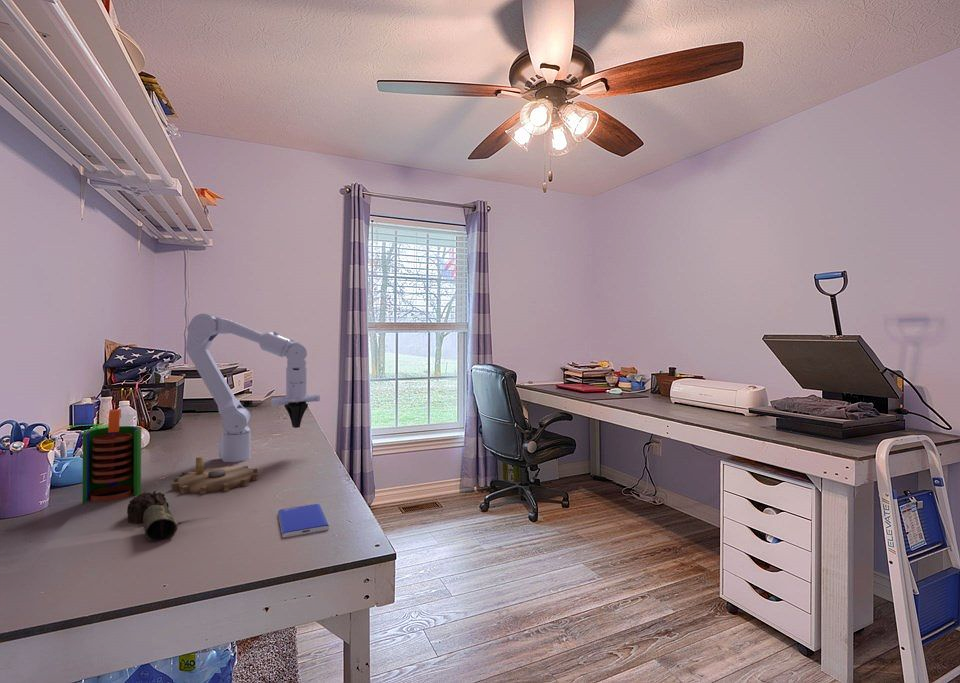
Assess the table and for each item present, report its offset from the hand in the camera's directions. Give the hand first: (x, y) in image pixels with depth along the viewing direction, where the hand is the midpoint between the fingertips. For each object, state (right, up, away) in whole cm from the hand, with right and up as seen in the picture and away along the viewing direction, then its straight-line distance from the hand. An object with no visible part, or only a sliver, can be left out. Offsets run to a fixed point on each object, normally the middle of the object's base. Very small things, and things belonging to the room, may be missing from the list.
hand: (296, 427), depth 139 cm
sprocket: (-9, -8, -27) cm, 29 cm away
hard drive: (+21, -11, -48) cm, 53 cm away
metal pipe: (-8, -10, -51) cm, 52 cm away
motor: (-26, -10, -37) cm, 46 cm away
